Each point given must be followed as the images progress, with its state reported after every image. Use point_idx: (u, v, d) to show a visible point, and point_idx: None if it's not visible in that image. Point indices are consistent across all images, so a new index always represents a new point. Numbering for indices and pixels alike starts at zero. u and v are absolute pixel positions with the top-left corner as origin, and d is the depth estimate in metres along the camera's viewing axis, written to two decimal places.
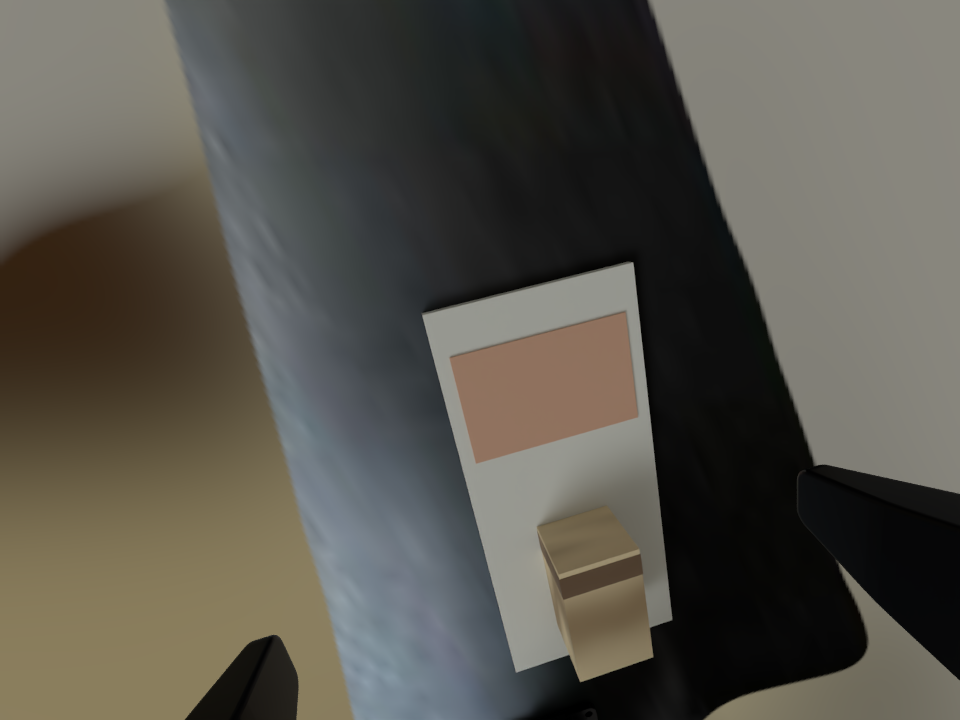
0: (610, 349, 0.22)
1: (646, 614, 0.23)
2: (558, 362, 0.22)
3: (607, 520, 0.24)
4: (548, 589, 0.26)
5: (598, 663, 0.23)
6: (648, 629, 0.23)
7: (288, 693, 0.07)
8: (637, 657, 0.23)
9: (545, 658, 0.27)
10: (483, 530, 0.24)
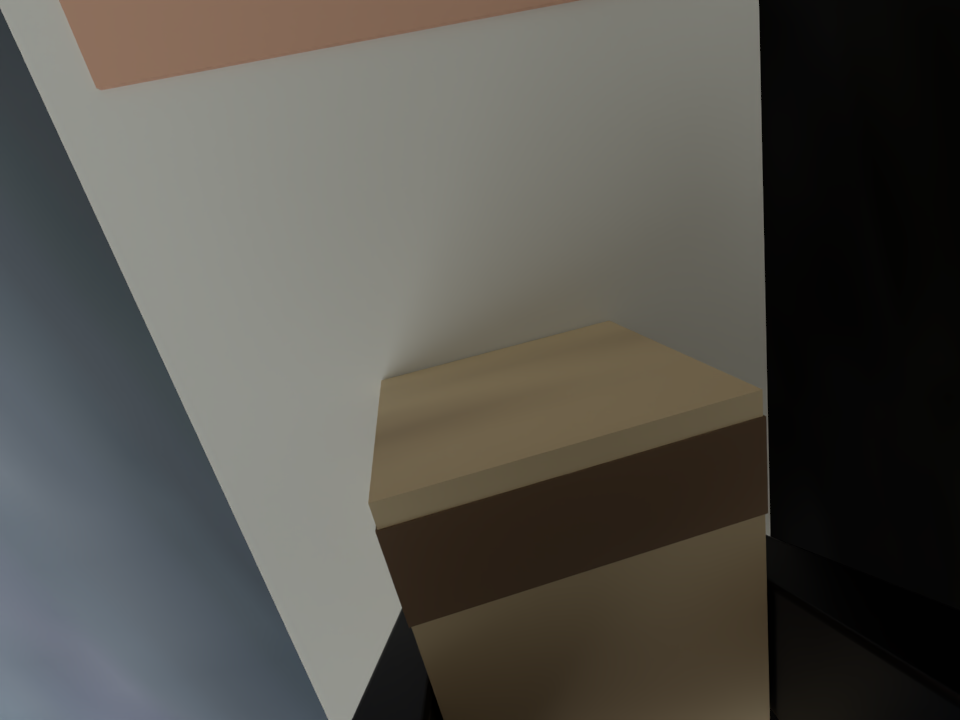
0: None
1: (763, 675, 0.06)
2: None
3: (611, 342, 0.07)
4: None
5: None
6: None
7: None
8: None
9: None
10: (191, 383, 0.07)
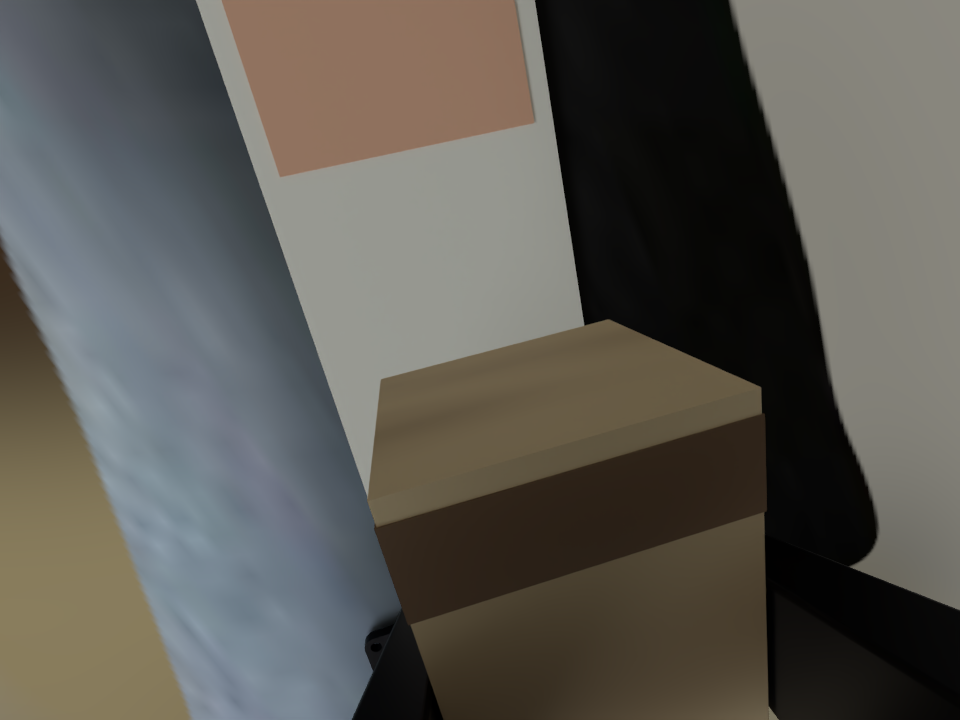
0: None
1: (761, 673, 0.06)
2: (398, 3, 0.14)
3: (610, 341, 0.07)
4: None
5: None
6: None
7: None
8: None
9: None
10: (307, 300, 0.16)
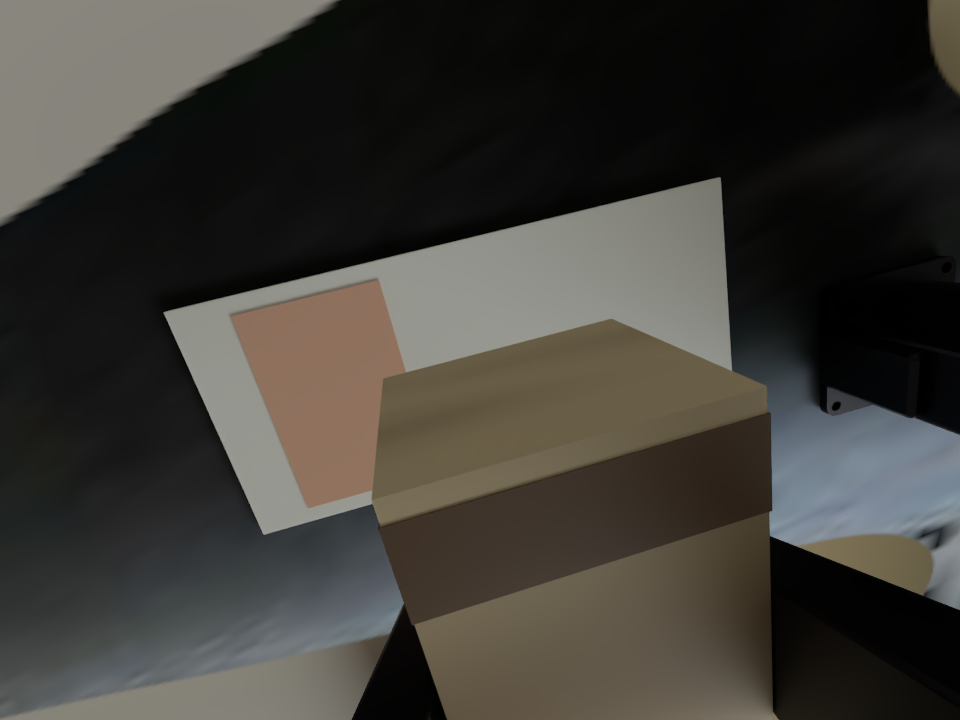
0: (285, 329, 0.17)
1: (766, 673, 0.06)
2: (305, 393, 0.18)
3: (613, 340, 0.07)
4: None
5: None
6: None
7: None
8: None
9: (725, 365, 0.21)
10: None
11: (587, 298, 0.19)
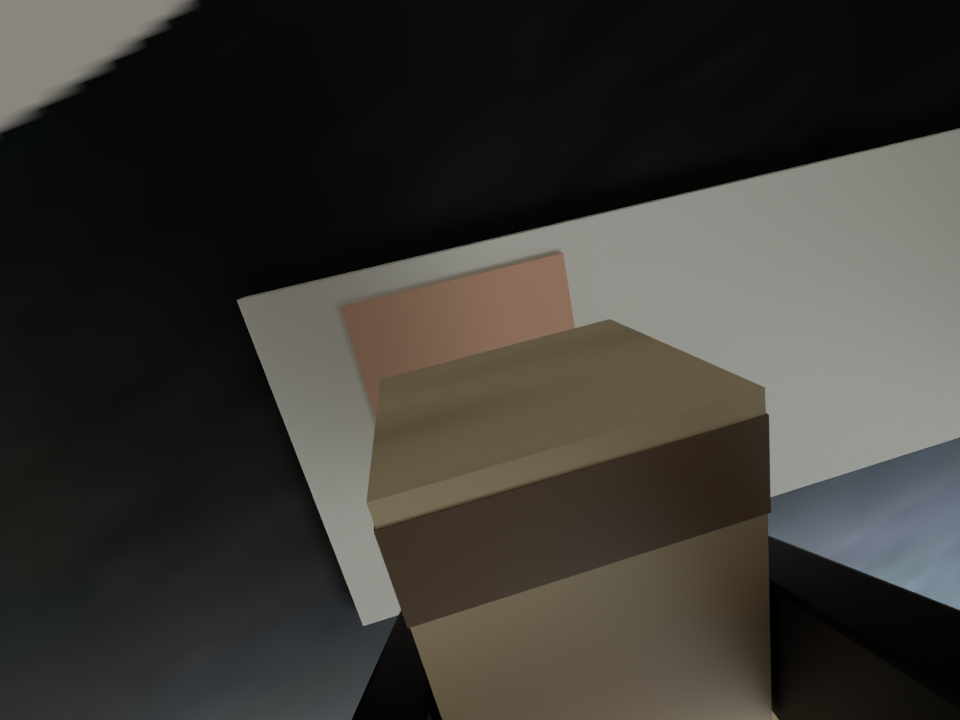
0: (419, 327, 0.11)
1: (765, 677, 0.06)
2: None
3: (612, 341, 0.07)
4: (863, 389, 0.14)
5: None
6: None
7: None
8: None
9: None
10: None
11: (838, 284, 0.13)
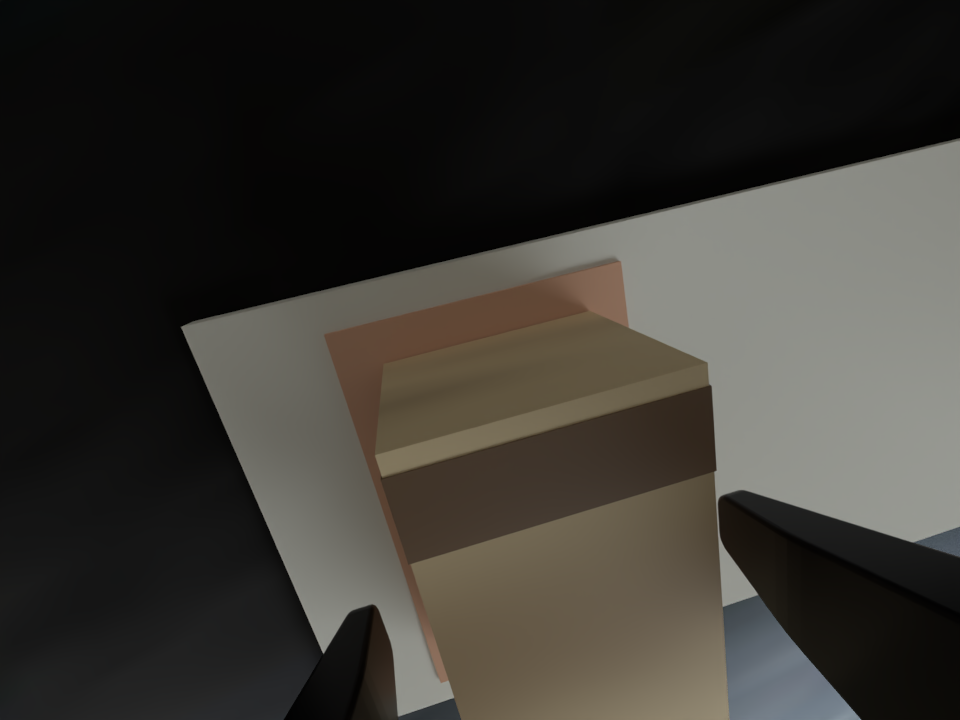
0: None
1: (719, 619, 0.07)
2: None
3: (589, 329, 0.08)
4: None
5: None
6: (721, 671, 0.07)
7: (388, 660, 0.07)
8: None
9: None
10: None
11: None
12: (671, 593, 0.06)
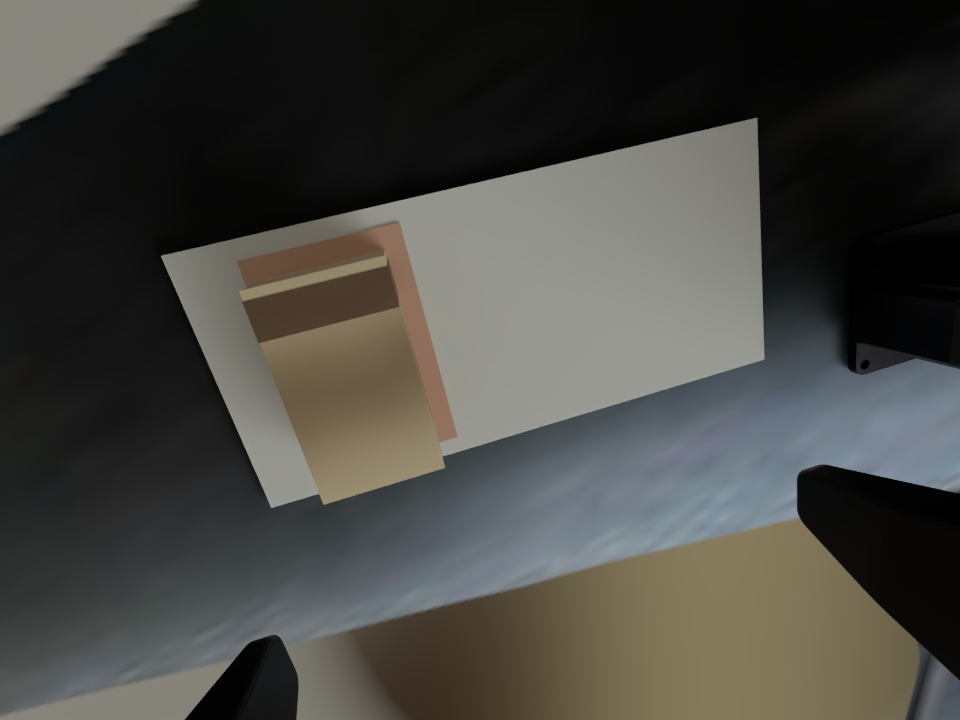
0: None
1: (422, 388, 0.14)
2: None
3: (370, 254, 0.15)
4: (652, 327, 0.19)
5: (349, 471, 0.14)
6: (427, 416, 0.14)
7: (288, 693, 0.07)
8: (416, 466, 0.15)
9: (756, 321, 0.20)
10: (550, 418, 0.19)
11: (619, 246, 0.18)
12: (390, 369, 0.14)
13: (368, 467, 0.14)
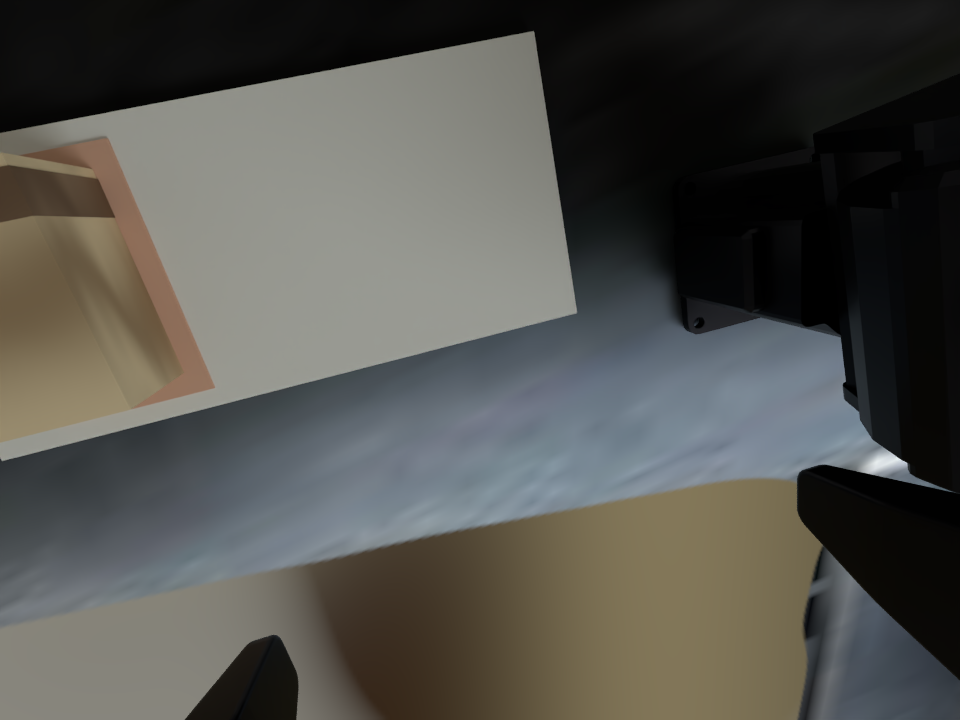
0: None
1: (86, 315, 0.12)
2: None
3: None
4: (435, 271, 0.17)
5: (9, 409, 0.13)
6: (96, 348, 0.13)
7: (288, 693, 0.07)
8: (94, 405, 0.13)
9: (562, 268, 0.18)
10: (325, 371, 0.18)
11: (383, 176, 0.16)
12: (37, 290, 0.12)
13: (32, 405, 0.13)
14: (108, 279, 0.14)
